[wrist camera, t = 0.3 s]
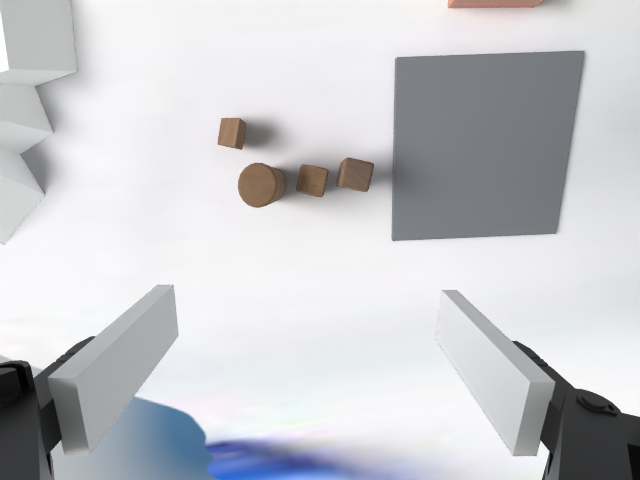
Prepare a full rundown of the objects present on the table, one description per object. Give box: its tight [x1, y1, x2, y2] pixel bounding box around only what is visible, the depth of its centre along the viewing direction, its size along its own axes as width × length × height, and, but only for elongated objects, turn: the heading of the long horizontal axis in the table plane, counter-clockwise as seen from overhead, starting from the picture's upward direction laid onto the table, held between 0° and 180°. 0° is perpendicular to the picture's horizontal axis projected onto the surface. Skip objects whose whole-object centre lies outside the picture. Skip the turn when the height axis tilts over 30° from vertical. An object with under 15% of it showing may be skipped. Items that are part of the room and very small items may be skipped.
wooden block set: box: [218, 118, 374, 208], centre depth 36 cm, size 18×9×10 cm, turn 78°
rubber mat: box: [392, 51, 584, 241], centre depth 40 cm, size 22×22×1 cm
